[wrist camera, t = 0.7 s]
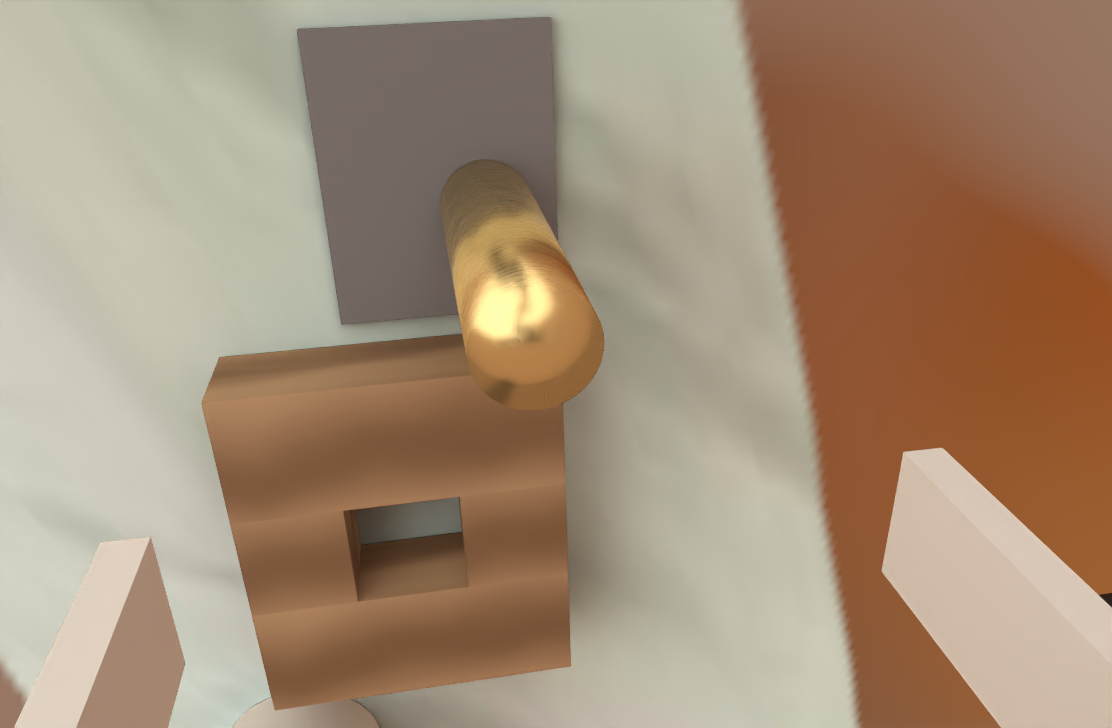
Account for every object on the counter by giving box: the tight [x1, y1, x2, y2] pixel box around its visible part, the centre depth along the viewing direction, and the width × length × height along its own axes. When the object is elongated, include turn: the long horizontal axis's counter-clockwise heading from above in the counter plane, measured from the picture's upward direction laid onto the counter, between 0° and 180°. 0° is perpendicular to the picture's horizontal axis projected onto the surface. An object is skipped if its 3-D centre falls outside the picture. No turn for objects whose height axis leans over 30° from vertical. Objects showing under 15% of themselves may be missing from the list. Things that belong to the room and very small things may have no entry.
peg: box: [440, 159, 604, 410], centre depth 26 cm, size 3×3×12 cm
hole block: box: [202, 334, 571, 711], centre depth 35 cm, size 14×12×4 cm
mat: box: [297, 17, 558, 325], centre depth 31 cm, size 10×8×1 cm
